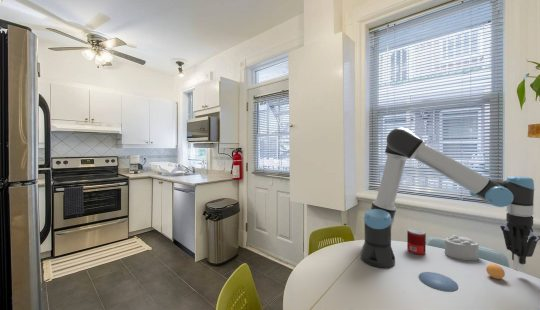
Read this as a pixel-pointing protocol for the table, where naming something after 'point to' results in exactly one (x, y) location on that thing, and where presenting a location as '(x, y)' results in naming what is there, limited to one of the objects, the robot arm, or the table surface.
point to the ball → (495, 271)
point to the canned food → (416, 241)
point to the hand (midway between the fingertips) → (518, 269)
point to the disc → (438, 281)
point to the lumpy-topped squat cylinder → (461, 248)
